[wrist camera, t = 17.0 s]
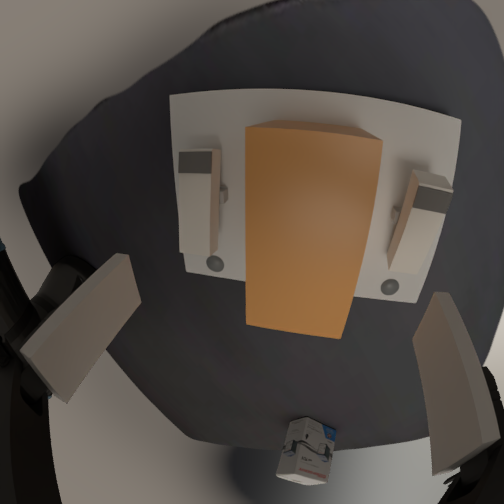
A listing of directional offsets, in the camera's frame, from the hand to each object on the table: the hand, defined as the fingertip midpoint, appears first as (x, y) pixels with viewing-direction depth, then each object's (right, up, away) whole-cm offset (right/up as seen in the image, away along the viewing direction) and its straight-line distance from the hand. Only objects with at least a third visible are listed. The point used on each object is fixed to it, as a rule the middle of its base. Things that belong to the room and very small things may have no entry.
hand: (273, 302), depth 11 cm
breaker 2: (+11, +4, +6) cm, 13 cm away
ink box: (+11, -31, +32) cm, 46 cm away
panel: (+4, +7, +12) cm, 15 cm away
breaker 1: (-5, +6, +10) cm, 12 cm away
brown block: (+4, +6, +10) cm, 12 cm away
